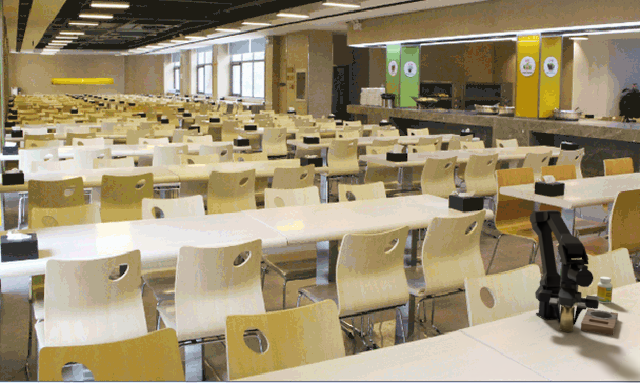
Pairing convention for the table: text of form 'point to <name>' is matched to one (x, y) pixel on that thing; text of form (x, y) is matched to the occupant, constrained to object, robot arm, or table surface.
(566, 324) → the tan salt shaker
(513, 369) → the table surface
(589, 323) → the socket block
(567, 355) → the table surface
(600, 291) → the supplement bottle
